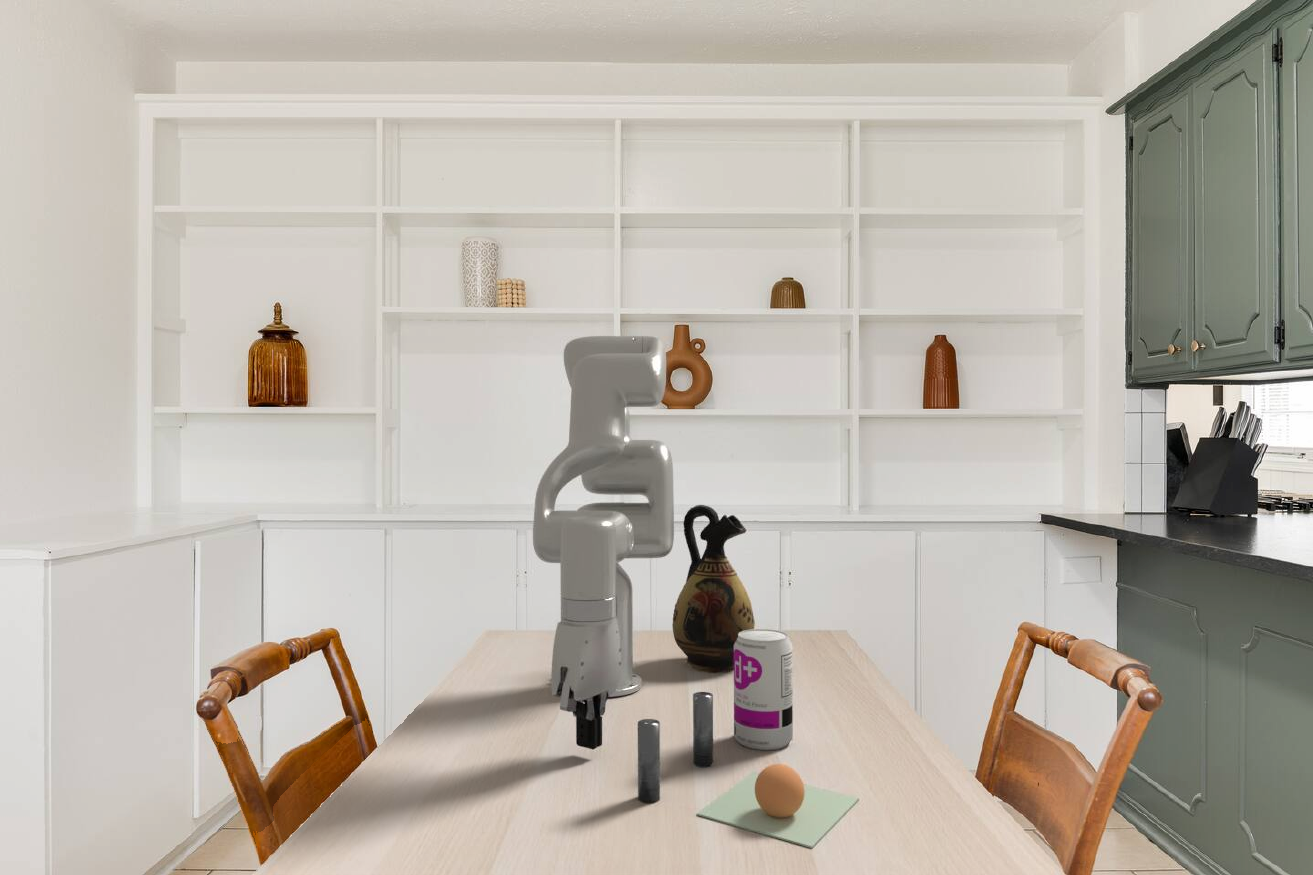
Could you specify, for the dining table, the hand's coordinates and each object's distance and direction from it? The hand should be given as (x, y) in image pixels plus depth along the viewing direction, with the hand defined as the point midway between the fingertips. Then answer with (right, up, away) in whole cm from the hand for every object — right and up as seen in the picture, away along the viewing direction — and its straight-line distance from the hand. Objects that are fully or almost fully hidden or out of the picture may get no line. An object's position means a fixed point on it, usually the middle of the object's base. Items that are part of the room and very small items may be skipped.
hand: (589, 745), depth 112 cm
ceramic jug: (+19, -2, +45) cm, 49 cm away
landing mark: (+23, -1, -16) cm, 28 cm away
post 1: (+8, -2, -13) cm, 15 cm away
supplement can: (+24, -2, +6) cm, 25 cm away
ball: (+23, +1, -18) cm, 29 cm away
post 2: (+15, -1, -3) cm, 15 cm away
